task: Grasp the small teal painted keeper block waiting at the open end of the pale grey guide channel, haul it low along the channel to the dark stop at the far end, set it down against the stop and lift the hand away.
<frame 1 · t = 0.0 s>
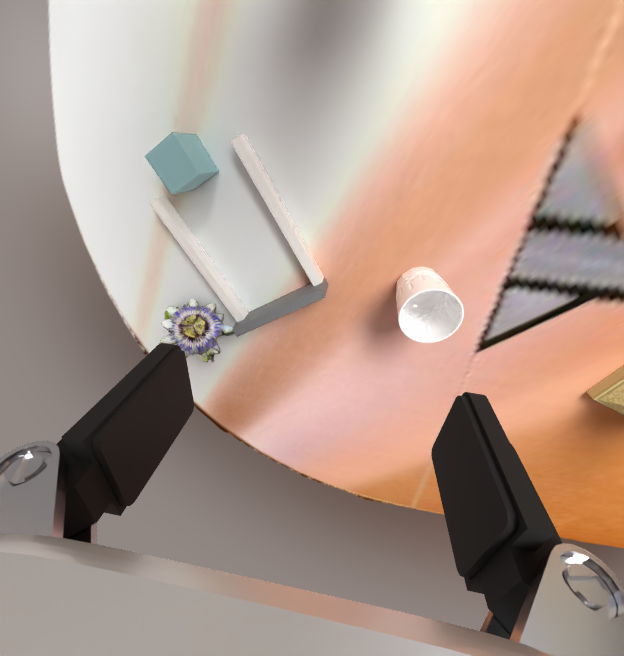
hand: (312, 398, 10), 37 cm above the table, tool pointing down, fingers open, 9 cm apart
white cup: (417, 286, 46), on the table
keeper block: (195, 163, 42), on the table
passion flower: (206, 321, 56), on the table
guide channel: (247, 245, 47), on the table
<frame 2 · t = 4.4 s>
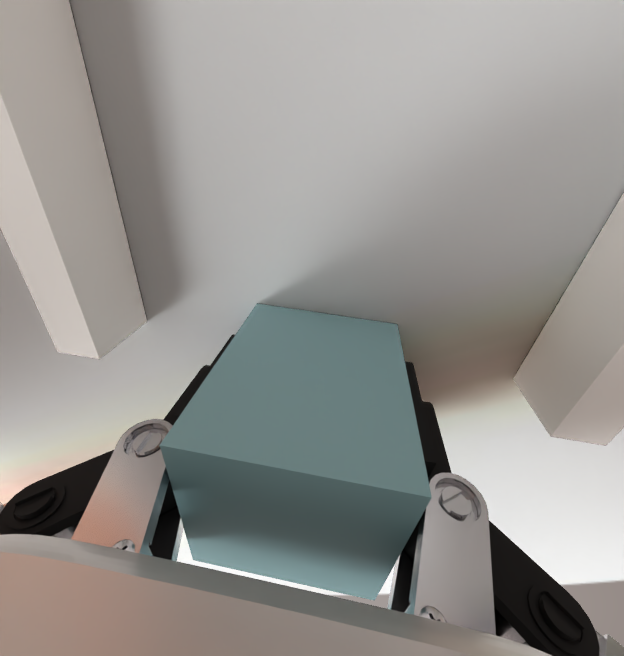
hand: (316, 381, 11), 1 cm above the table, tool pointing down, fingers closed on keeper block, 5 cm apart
keeper block: (318, 368, 12), on the table, touching gripper
when the fingers open (1 cm above the table, at t = 9.8 s): keeper block stays where it is, resting in guide channel.
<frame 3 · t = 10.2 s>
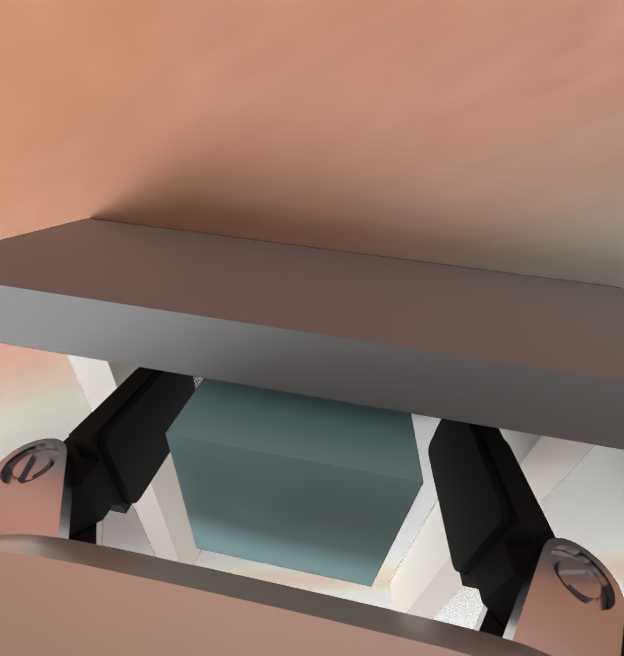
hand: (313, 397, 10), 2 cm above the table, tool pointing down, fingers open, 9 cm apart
keeper block: (317, 364, 12), resting in guide channel
guide channel: (306, 465, 15), on the table
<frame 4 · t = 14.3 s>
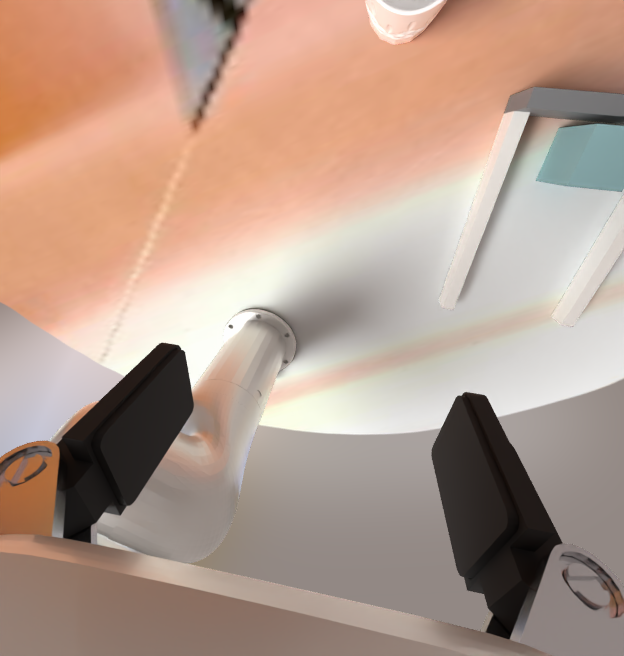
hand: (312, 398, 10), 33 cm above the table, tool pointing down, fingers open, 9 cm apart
keeper block: (570, 157, 32), resting in guide channel
guide channel: (541, 221, 36), on the table
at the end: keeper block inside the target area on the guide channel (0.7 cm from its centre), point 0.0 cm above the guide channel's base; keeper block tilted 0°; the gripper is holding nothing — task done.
